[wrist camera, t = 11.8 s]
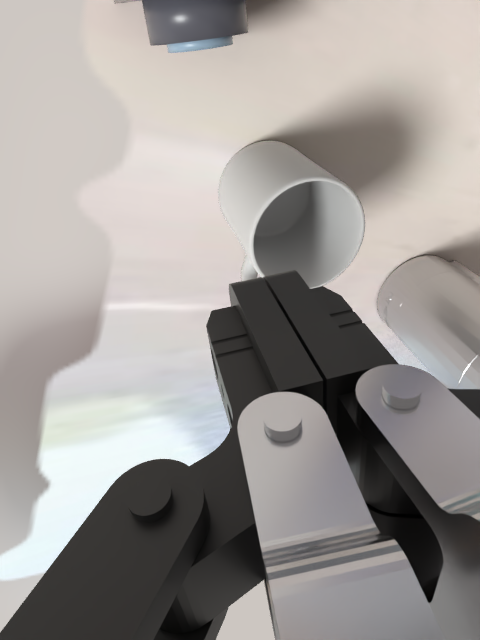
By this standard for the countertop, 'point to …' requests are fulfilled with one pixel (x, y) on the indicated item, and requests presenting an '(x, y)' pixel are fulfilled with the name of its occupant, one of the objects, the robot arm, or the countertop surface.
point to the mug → (290, 214)
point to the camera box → (193, 23)
